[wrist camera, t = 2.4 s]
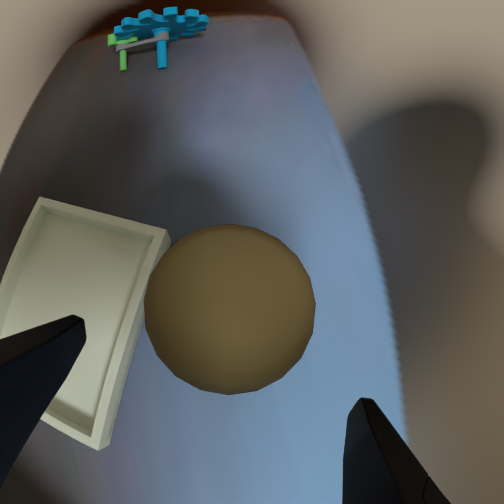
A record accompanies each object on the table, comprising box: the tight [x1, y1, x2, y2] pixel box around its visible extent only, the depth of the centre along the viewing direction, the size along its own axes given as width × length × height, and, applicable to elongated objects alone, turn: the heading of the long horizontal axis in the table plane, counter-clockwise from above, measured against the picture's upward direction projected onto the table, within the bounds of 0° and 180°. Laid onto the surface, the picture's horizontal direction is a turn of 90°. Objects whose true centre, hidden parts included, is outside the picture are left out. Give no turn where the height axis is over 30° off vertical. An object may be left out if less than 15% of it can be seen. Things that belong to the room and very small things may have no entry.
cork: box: [143, 224, 316, 395], centre depth 13 cm, size 6×6×11 cm
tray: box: [0, 197, 172, 450], centre depth 17 cm, size 14×11×2 cm
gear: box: [108, 7, 209, 71], centre depth 26 cm, size 11×6×10 cm
